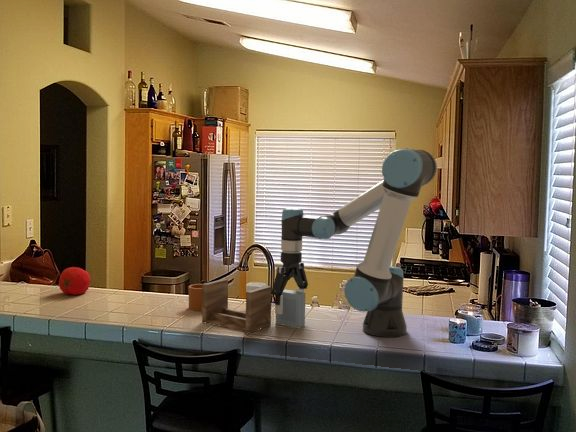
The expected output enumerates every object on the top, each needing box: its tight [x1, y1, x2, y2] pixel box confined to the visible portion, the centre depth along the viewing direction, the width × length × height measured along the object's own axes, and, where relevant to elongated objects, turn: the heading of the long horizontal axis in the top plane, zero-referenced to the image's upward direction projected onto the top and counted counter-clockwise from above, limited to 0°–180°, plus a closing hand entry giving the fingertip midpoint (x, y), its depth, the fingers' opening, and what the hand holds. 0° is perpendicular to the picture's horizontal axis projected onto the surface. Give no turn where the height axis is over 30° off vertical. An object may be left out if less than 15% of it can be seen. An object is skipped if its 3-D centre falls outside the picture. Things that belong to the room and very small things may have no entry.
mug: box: [188, 283, 203, 312], centre depth 232 cm, size 9×12×9 cm
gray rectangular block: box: [275, 288, 306, 329], centre depth 211 cm, size 10×4×12 cm, turn 56°
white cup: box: [245, 281, 267, 292], centre depth 232 cm, size 8×8×10 cm
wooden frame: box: [201, 278, 272, 333], centre depth 211 cm, size 22×12×14 cm, turn 56°
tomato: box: [58, 266, 92, 296], centre depth 254 cm, size 13×13×13 cm
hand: (289, 309), depth 212 cm, fingers open, 13 cm apart
